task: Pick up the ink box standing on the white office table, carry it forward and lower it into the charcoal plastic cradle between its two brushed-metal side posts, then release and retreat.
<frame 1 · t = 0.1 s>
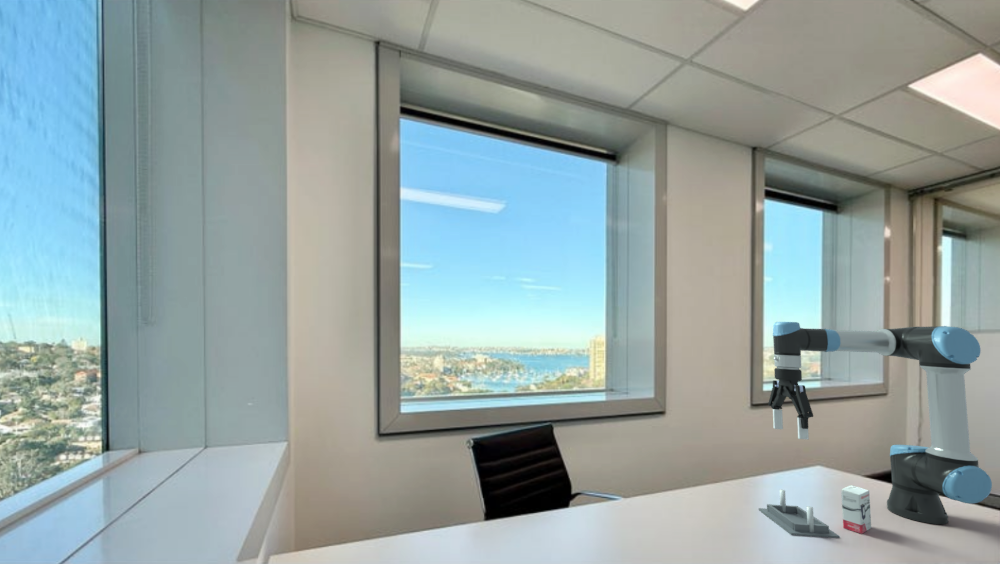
hand: (790, 433, 140), 28 cm above the table, fingers open, 13 cm apart
cradle: (796, 523, 137), on the table
ink box: (857, 528, 135), on the table
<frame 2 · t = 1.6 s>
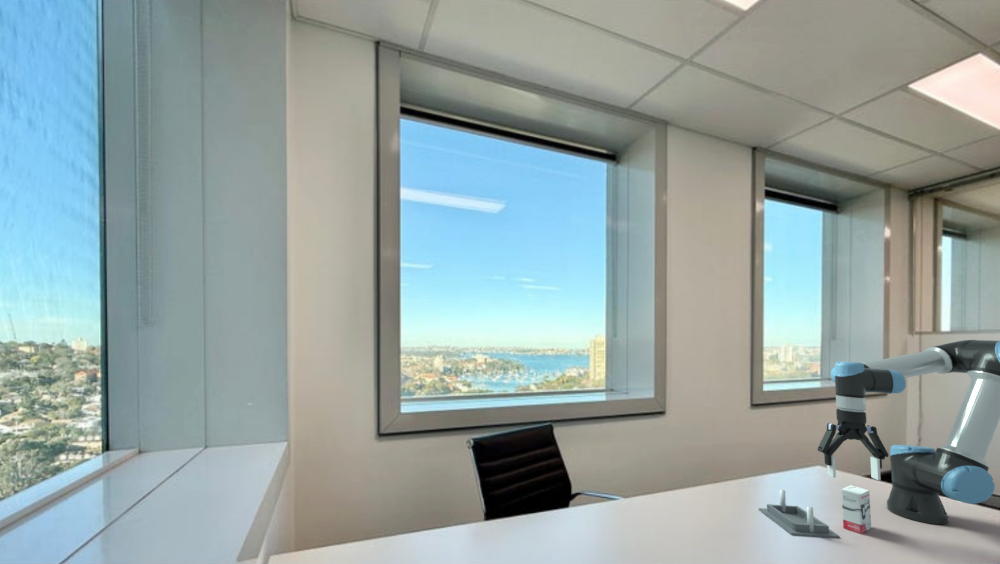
hand: (853, 477, 137), 15 cm above the table, fingers open, 13 cm apart
nothing on the table moved.
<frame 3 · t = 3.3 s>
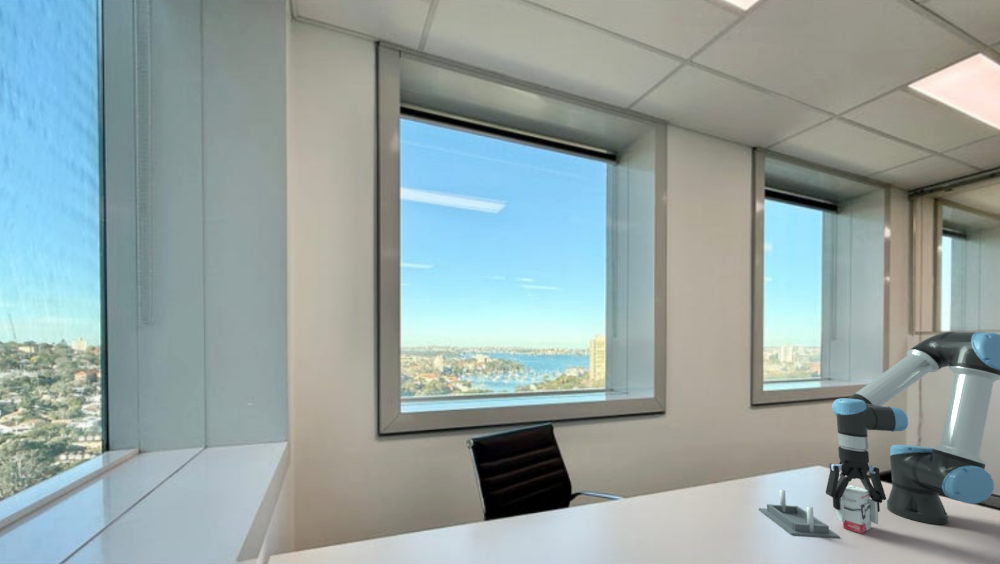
hand: (856, 521, 135), 2 cm above the table, fingers closed on ink box, 9 cm apart
ink box: (857, 528, 135), on the table, touching gripper
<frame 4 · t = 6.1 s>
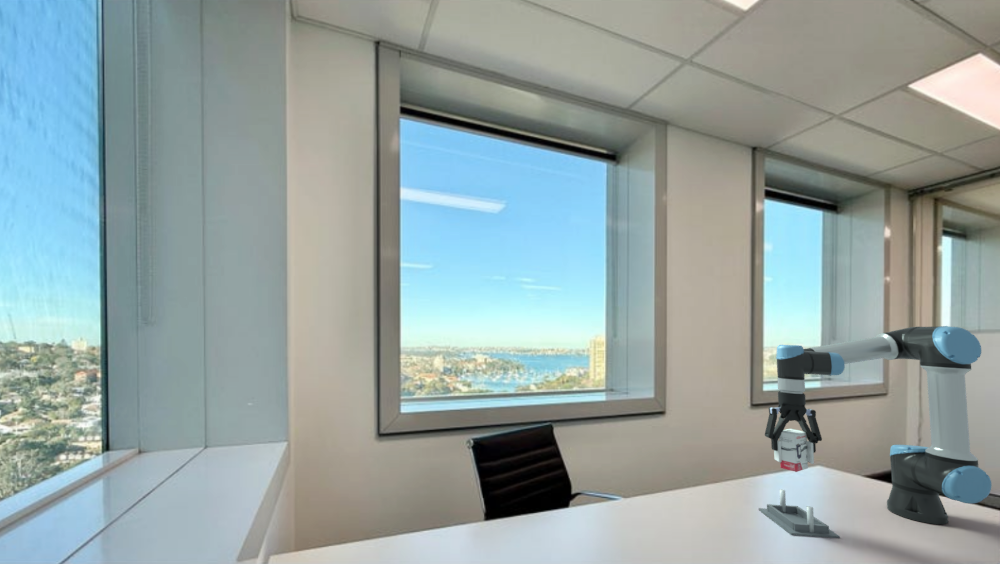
hand: (793, 461, 139), 19 cm above the table, fingers closed on ink box, 9 cm apart
ink box: (794, 468, 139), point 17 cm above the table, touching gripper
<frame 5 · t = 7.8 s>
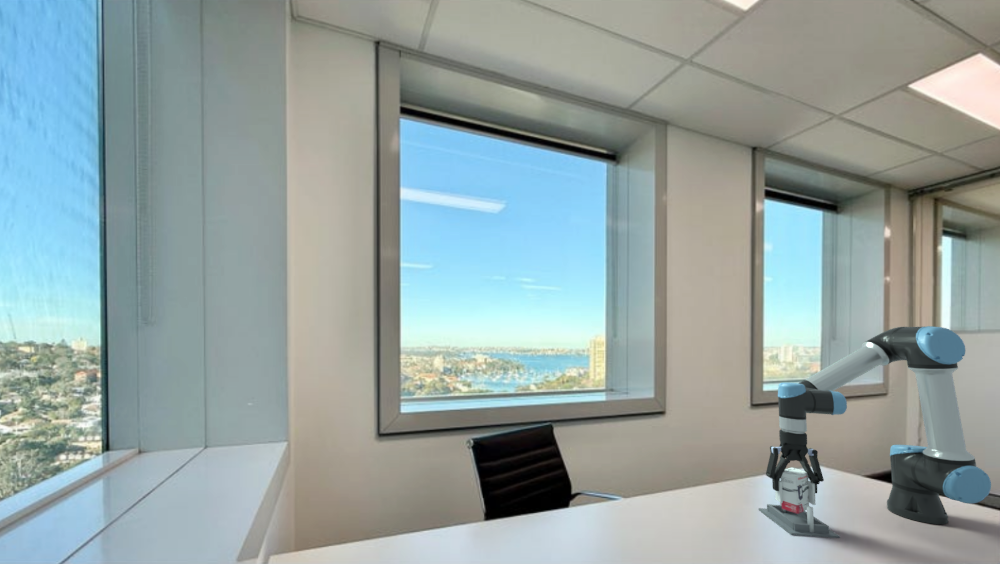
hand: (795, 502, 138), 6 cm above the table, fingers closed on ink box, 9 cm apart
ink box: (795, 509, 138), point 4 cm above the table, touching gripper
when the fingers open (5 cm above the table, at t = 9.1 s): ink box stays where it is, resting on cradle.
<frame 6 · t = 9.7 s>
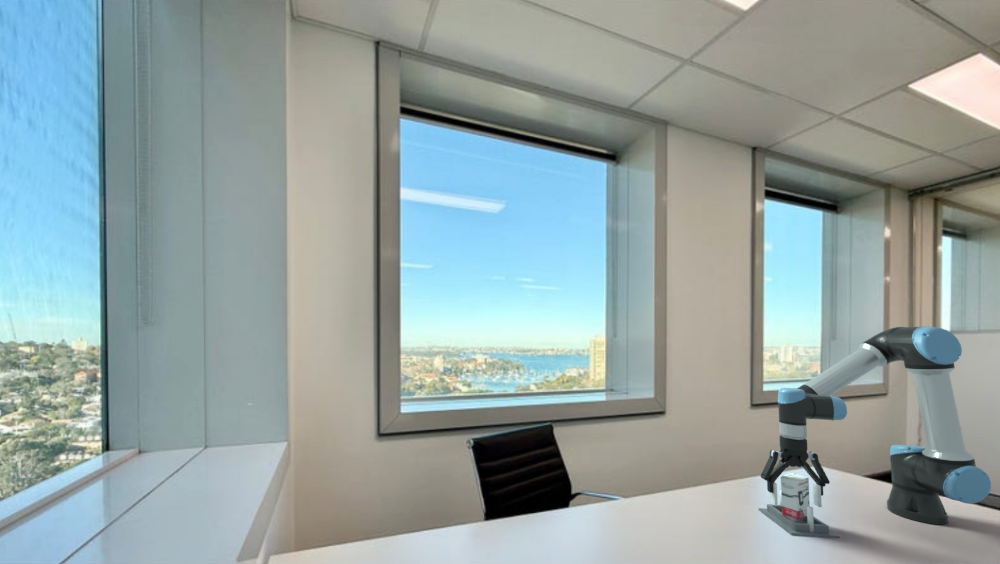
hand: (795, 504, 138), 6 cm above the table, fingers open, 13 cm apart
ink box: (796, 515, 137), point 2 cm above the table, touching cradle
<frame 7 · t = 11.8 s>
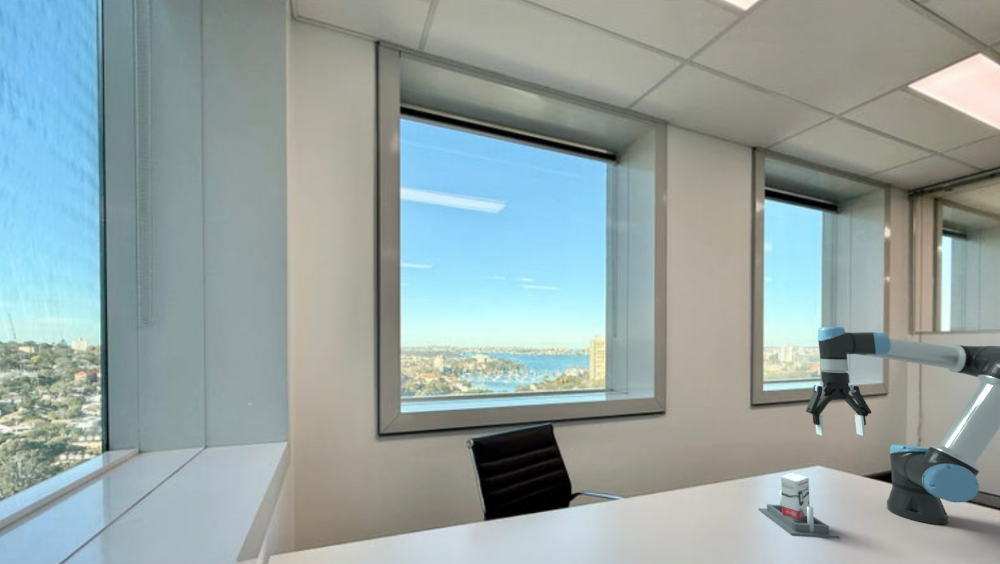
hand: (840, 435, 145), 27 cm above the table, fingers open, 13 cm apart
nothing on the table moved.
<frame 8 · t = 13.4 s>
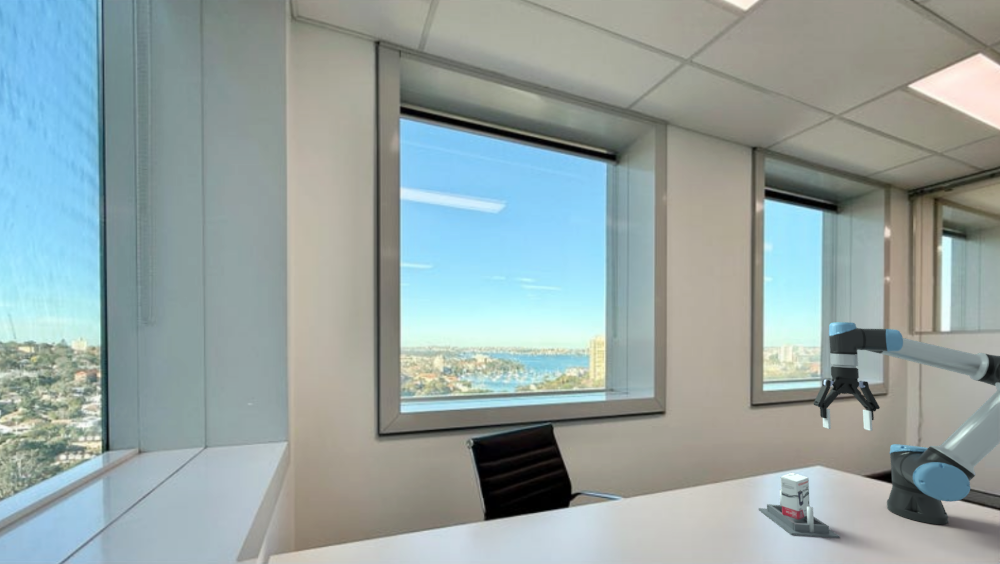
hand: (847, 429, 147), 29 cm above the table, fingers open, 13 cm apart
nothing on the table moved.
at the end: ink box 0.0 cm off-centre on the cradle, point 2.4 cm above the cradle's base; ink box tilted 0°; the gripper is holding nothing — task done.
